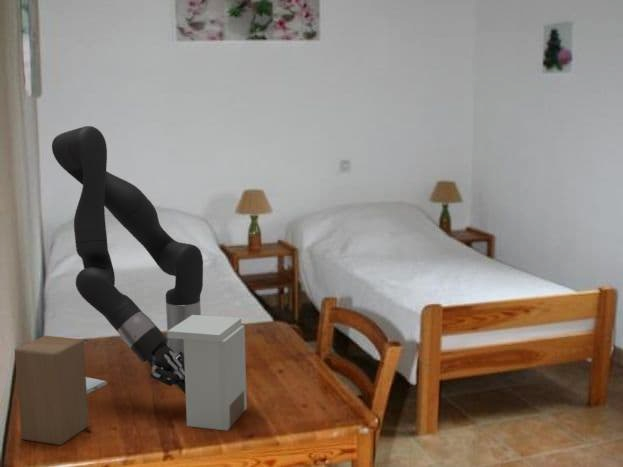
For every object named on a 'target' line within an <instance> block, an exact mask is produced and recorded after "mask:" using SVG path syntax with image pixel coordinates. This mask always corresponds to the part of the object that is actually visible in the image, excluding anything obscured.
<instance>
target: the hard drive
mask: <svg viewBox="0 0 623 467" xmlns="http://www.w3.org/2000/svg"><path fill="white" fill-rule="evenodd" d="M107 384H108V381H106V380H103V379H102V380H101V379H97V378H92V377H89V376H86V390H87V395H88V394H90V393H92V392H94V391H96V390H98V389H100V388H102V387H105V386H106V385H107Z"/></svg>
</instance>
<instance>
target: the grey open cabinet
mask: <svg viewBox="0 0 623 467" xmlns="http://www.w3.org/2000/svg"><path fill="white" fill-rule="evenodd" d="M245 327H246V326H245V325H243V324H242V317H229V316H213V315H202V314H201V315H191V316H190V317H188V318H187V319H185V320H184V321H182V322H181V323H179V324H177V325H176V326H174V327H173V328H171V329H170V330H168V331H167V330H166V333H167V334H166V335H167V336H166V338H167V339H168V338H176V339H184V364H185V390H186V394H185V410H186V426H187V427H193V428H202V429H211V430H217V431H218V430H219V431H220V430H221V431H229V429H230V428H232V426H233V425H234V424H235V422H236V421H237V420H238V419H239V418H240V417H241V416H242V415H243V413H245V411H246V410H247V408H248V407H247V374H246V373H247V372H246V371H247V370H246V369H247V368H246V364H247V363H246V328H245Z"/></svg>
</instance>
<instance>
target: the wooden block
mask: <svg viewBox="0 0 623 467" xmlns="http://www.w3.org/2000/svg"><path fill="white" fill-rule="evenodd" d="M14 358H15V361H14V362H15V371H16V372H15V374H16V384H17V395H18V398H17V399H18V407H19V408H18V409H19V411H18V412H19V420H20V421H19V422H20V434H21V435H20V436H21V439H23V440H26V441H31V442H39V443H42V444H43V443H45V444H52V445H58V446H61V445H64V443H66V442H68V441H69V440H71V439H72V438H73V437H75V436H76V435H78V434H79V433H81V432H82V431H84V430H85V429H87V428H88V427H89V425H90V423H89V421H90V420H89V406H88V394H87V390H86V377H87V376H86V363H85V362H86V361H85V360H86V359H85V344H84V340H83V339H82V338H81V339H80V338H74V337H73V338H72V337H63V336H52V335H44V336H41V337H39V338H36V339H35V340H33V341H30V342H29V343H26V344H23V345H21V346H20V347H17V348H15V349H14Z"/></svg>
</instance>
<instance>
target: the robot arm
mask: <svg viewBox="0 0 623 467" xmlns="http://www.w3.org/2000/svg"><path fill="white" fill-rule="evenodd" d="M51 151H52V155H53V157H54V159H55V161H56V162H57V163H58V165H60V167H61V168H62V169H63V170H64V171H65V172H66V173H67V174H69V175H70V176H71V177H73V179H75V180H76V181H77V182H78V183H80V184H81V185H82V187H81V192H80V193H81V194H80V197H79V200H78V204H77V205H76V210H75V212H74V220H73V229H74V240H75V248H76V254H77V255H78V256H79V257H80V258H81V259H82V260H81V261H82V265H83V269H82V270H80V271H78V274H77V275H76V279H75V288H76V290H77V292H78V293H79V295H80V296H81V297H82V298H83V300H85V301H86V302H87V303H89V304H88V305H90V306H91V307H93V308H94V309H95V310H96V311H97V312H99V313H100V314H101V316H104V318H105V319H106V320H107V321H108V323H109V324H110V325H111V326H112V327H113V329H114V330H115V331H116V332H117V334H118V335H119V336H120V337H121V339H122V340H123V342H125V344H126V345H127V346H128V348H129V349H131V350H132V352H133V353H134V354H135V355H136V356H137V358H138V359H139V360H140V361H141V362H142V363H145V362H147V363H148V366H150V368H152V371H151V372H150V374H149V377H150V378H152V379H153V380H156V381H159V383H163V384H165V385H167V386H169V387H172V386H173V385H174V386H177V387H178V388H179V389H180V390H181V391H182V392H183V393H184V395H186V390H185V364H184V339H176V338H168V337H167V336H165V334H164V333H163V332H162V331H161V329H160V328H159V327H158V326H157V325H156V324H155V322H153V321H152V319H151V318H150V317H149V316H148V315H146V314H145V313H144V312H143V311H142V310H141V309H140V307H139V306H138V305H137V304H136V303H135V301H133V300H132V299H131V297H129V296H128V295H127V294H124V293H122V292H120V291H119V290H118V288H117V287H116V286H115V283H116V282H115V281H116V278H115V277H116V276H115V271H114V270H115V269H114V267H113V263H112V258H111V255H110V252H109V247H108V246H109V245H108V236H107V235H108V234H107V225H106V215H105V213H106V212H105V208H106V209H107V210H108V211H109V213H110V214H112V216H113V217H114V218H115V219H116V220H117V221H118V222H119V223H120V224H121V225H122V226H123V228H125V230H127V231H128V232H129V233H130V234H131V236H133V238H135V239H136V241H138V243H140V244H141V245H142V246H143V248H144V249H145V250H146V251H147V252H148V254H149V256H150V257H151V258H152V259H153V261H154V262H155V263H156V265H157V266H158V267H159V269H160V270H161V271H163V273H165V274H167V275H169V276H173V277H175V283H174V284H175V285H174V287H173V288H171V289H169V290H167V291H166V293H165V307H166V308H165V309H166V332H167V331H168V330H170V329H171V328H173V327H174V326H176V325H177V324H179V323H181V322H182V321H184V320H185V319H187V318H188V317H190V316H191V315H202V312H201V310H202V309H201V294H202V290H203V286H204V285H203V284H204V276H203V275H204V259H203V254H202V252H201V249H200V248H199V247H198V246H197V245H194V244H191V243H185V242H179V241H176V239H174V238H172V237H171V236H170V235H169V234H168V232H166V230H164V228H163V227H162V226H161V223H160V221H159V216H158V212H157V209H156V208H155V206H154V204H153V203H152V202H151V200H150V199H149V198H148V197H147V196H146V195H145V193H143V191H142V190H140V189H139V188H138V187H137V186H135V184H132V183H131V182H128V181H127V180H125V179H124V178H121V177H119V176H116V175H114V174H113V173H110V172H109V171H107V166H108V165H107V163H108V147H107V142H106V139H105V137H104V135H103V133H102V131H100V130H99V128H97V127H96V126H95V127H94V126H91V125H85V126H82V127H79V128H75V129H72V130H68V131H65V132H61V133H59V134H58V135H55V137H54V139H53V140H52V143H51Z"/></svg>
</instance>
